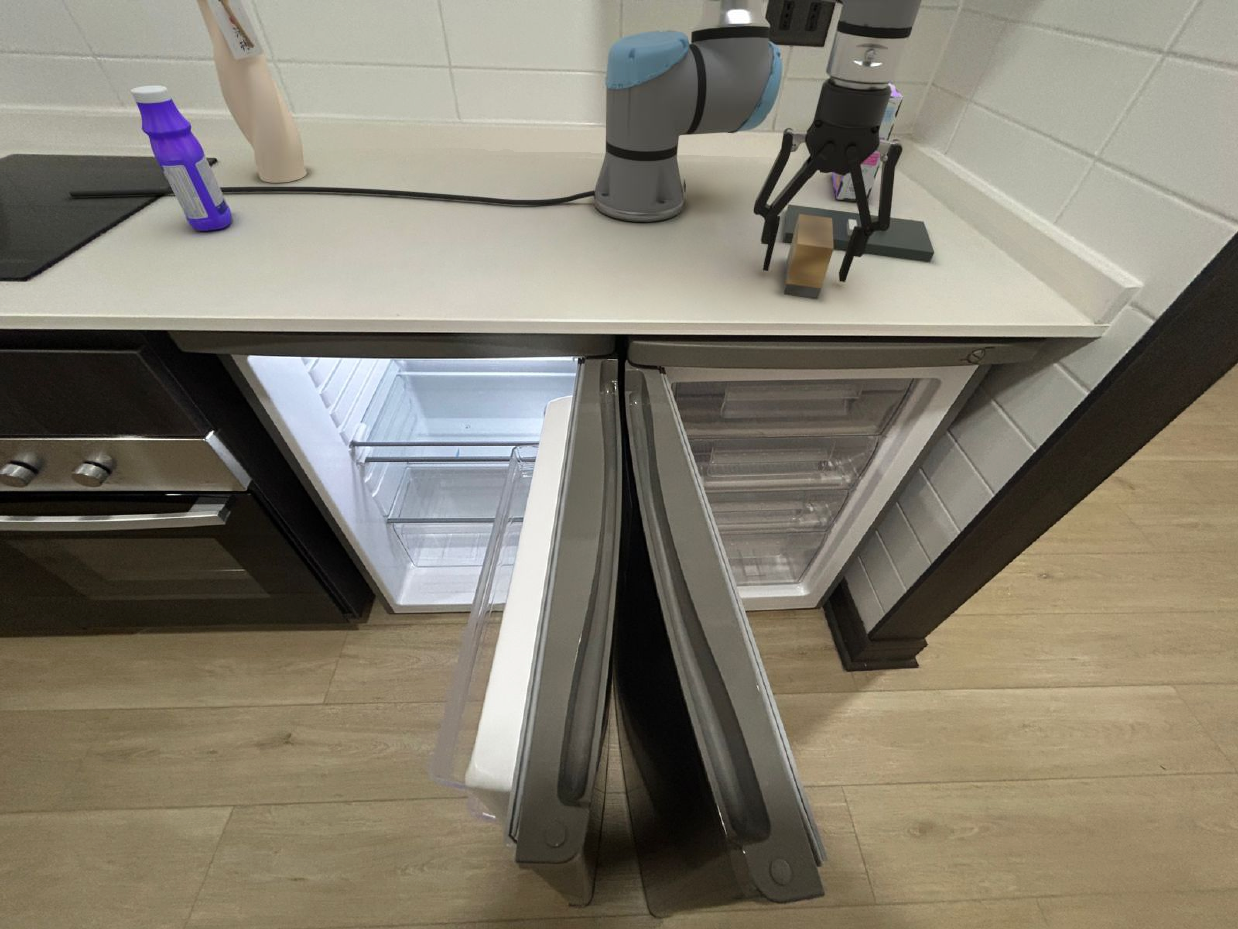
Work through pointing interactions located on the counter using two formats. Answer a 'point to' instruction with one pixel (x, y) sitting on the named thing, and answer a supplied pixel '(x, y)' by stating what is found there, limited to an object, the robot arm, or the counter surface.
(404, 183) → the counter surface
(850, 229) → the chalk
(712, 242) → the counter surface
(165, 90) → the bottle
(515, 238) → the counter surface
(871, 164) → the candy box
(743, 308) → the counter surface
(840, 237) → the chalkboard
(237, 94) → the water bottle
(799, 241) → the eraser
